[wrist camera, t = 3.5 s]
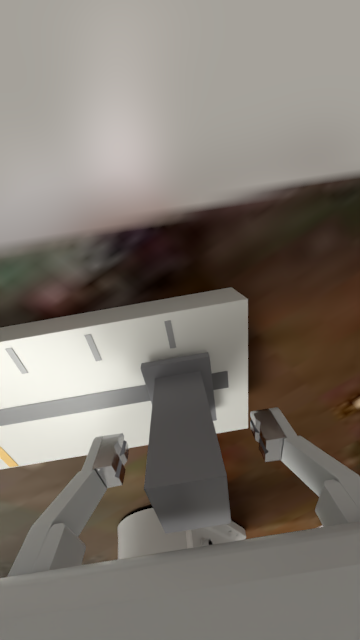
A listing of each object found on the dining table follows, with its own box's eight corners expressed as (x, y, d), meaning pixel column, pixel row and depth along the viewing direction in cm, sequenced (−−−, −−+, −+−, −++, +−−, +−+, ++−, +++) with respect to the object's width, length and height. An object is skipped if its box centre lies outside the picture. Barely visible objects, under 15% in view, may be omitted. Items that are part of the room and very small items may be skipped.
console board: (231, 287, 13) (248, 299, 10) (236, 400, 18) (248, 428, 15) (-153, 354, 14) (-235, 382, 11) (-46, 447, 18) (-84, 483, 16)
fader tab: (207, 351, 11) (246, 456, 6) (215, 414, 14) (246, 529, 8) (141, 363, 11) (116, 477, 6) (160, 423, 14) (155, 544, 8)
